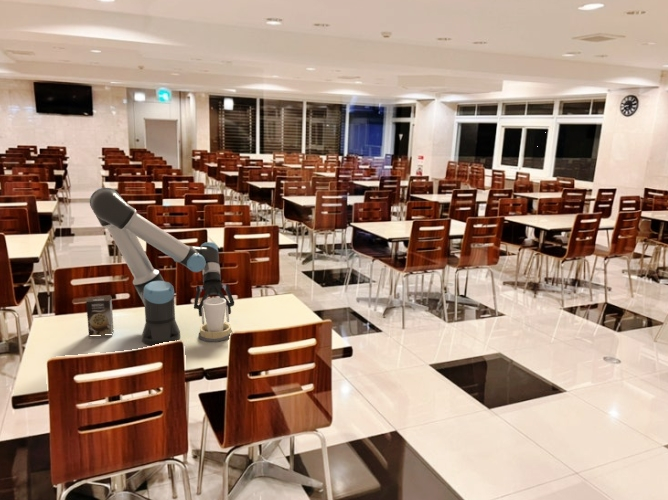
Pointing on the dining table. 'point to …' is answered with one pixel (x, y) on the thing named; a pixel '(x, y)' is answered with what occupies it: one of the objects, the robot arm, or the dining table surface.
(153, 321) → the robot arm
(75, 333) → the dining table surface
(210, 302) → the foam cup
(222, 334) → the collar seat
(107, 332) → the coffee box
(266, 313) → the dining table surface
